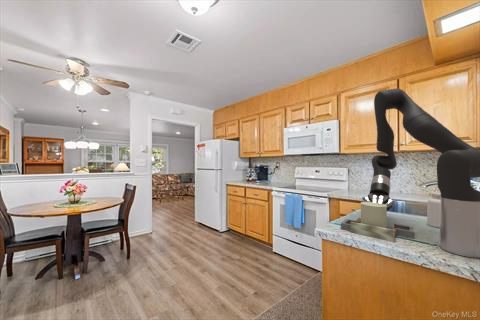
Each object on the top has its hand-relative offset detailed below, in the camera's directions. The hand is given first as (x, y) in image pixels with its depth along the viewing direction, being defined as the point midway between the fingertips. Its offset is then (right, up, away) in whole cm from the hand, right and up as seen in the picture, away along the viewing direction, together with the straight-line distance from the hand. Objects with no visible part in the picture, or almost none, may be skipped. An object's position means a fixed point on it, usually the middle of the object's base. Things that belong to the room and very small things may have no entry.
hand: (375, 218), depth 88 cm
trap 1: (-10, -5, +1) cm, 12 cm away
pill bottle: (+32, -5, +5) cm, 33 cm away
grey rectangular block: (-4, -5, -4) cm, 7 cm away
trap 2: (+8, -5, -5) cm, 10 cm away
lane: (-2, -5, -2) cm, 5 cm away
